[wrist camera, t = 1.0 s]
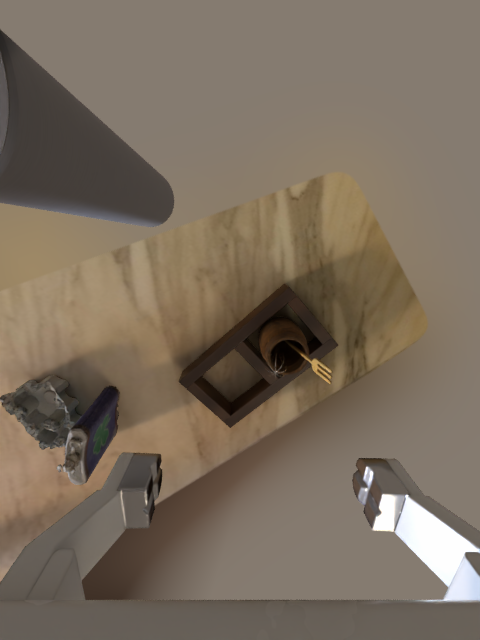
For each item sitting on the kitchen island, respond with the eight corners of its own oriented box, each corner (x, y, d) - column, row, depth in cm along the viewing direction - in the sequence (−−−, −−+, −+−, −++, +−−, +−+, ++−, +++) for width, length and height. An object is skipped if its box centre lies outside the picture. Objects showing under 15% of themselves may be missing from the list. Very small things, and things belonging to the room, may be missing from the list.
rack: (182, 370, 37) (178, 381, 34) (284, 283, 34) (289, 286, 31) (230, 414, 40) (230, 428, 37) (330, 337, 36) (338, 345, 33)
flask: (118, 436, 41) (78, 501, 30) (99, 433, 40) (53, 498, 30) (121, 386, 38) (78, 440, 28) (101, 383, 38) (50, 436, 27)
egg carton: (19, 379, 37) (-6, 395, 33) (68, 370, 37) (48, 385, 33) (48, 437, 40) (28, 458, 36) (93, 429, 40) (78, 449, 36)
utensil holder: (256, 315, 35) (267, 352, 23) (302, 314, 35) (334, 349, 24) (257, 354, 37) (267, 405, 25) (300, 352, 37) (329, 403, 25)
